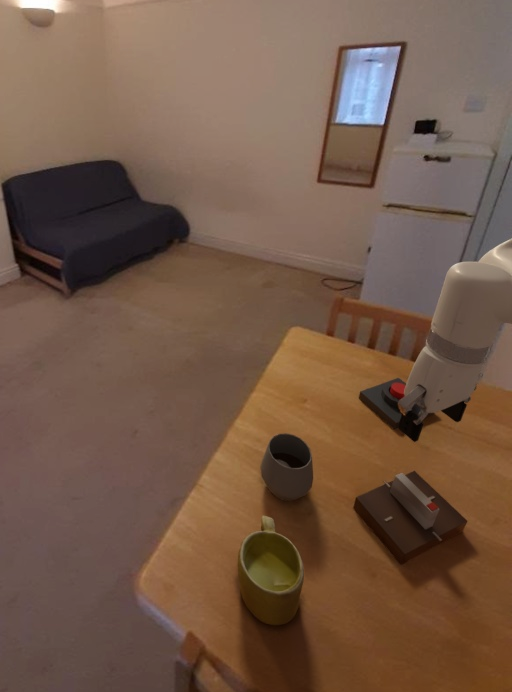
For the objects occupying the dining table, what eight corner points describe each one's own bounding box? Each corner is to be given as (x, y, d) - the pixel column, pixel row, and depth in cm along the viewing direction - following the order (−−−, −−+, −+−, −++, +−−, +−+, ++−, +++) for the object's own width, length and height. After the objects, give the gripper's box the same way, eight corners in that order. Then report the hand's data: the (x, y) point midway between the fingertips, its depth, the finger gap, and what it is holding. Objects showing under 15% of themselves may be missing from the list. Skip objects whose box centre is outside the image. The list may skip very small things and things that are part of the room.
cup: (257, 502, 75) (261, 466, 71) (260, 459, 83) (264, 424, 79) (311, 516, 72) (319, 479, 68) (309, 470, 80) (316, 435, 76)
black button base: (396, 384, 100) (400, 371, 98) (434, 413, 91) (439, 400, 90) (358, 398, 96) (361, 385, 95) (394, 430, 88) (398, 416, 86)
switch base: (407, 478, 78) (411, 467, 77) (466, 535, 68) (471, 523, 67) (350, 504, 74) (353, 493, 72) (404, 569, 64) (408, 557, 63)
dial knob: (389, 492, 73) (395, 474, 70) (396, 488, 73) (402, 471, 71) (425, 529, 67) (432, 512, 65) (432, 526, 67) (440, 508, 65)
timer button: (398, 386, 94) (399, 380, 94) (411, 397, 91) (413, 391, 91) (386, 390, 93) (387, 385, 93) (399, 401, 90) (401, 395, 90)
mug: (311, 650, 55) (296, 587, 53) (238, 630, 59) (222, 572, 58) (316, 567, 65) (303, 514, 64) (253, 556, 70) (241, 506, 69)
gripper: (471, 315, 66) (443, 394, 73) (392, 343, 60) (371, 425, 68) (524, 341, 59) (487, 425, 67) (440, 375, 54) (411, 461, 62)
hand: (429, 425), depth 67 cm, fingers open, 9 cm apart
